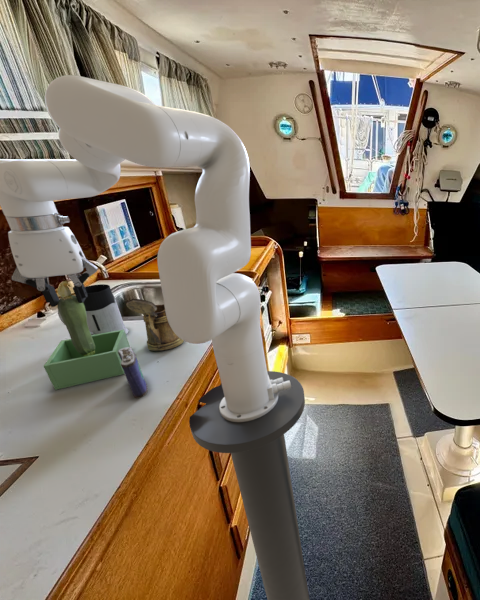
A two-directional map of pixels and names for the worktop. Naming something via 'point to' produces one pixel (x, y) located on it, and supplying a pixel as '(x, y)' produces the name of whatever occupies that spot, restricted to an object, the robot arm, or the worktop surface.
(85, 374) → the veg bin
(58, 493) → the worktop surface
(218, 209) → the robot arm
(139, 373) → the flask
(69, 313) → the vegetable
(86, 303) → the travel mug
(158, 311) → the wooden mug
